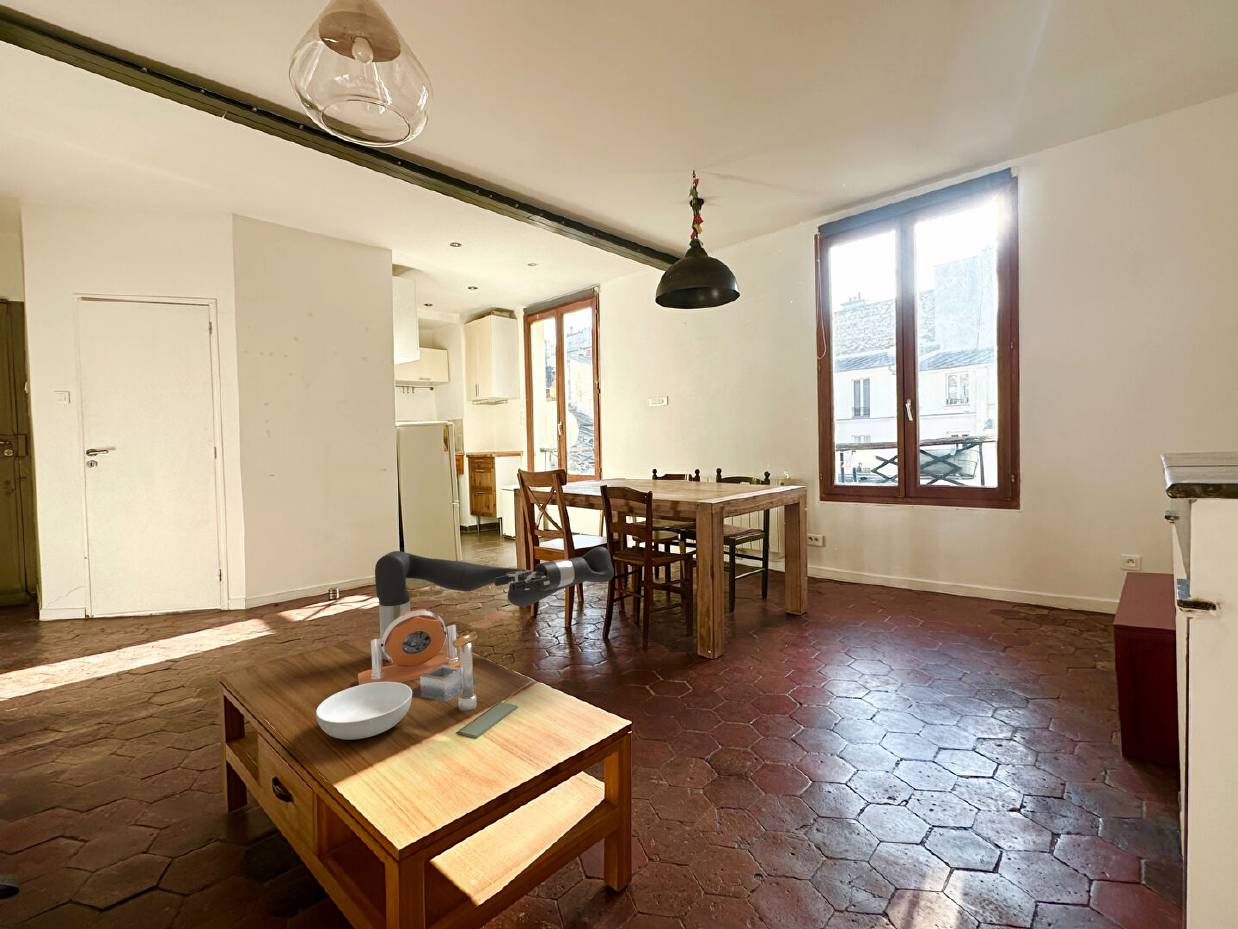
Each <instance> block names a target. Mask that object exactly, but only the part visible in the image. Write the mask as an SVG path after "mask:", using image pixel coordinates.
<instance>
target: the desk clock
mask: <svg viewBox="0 0 1238 929" xmlns="http://www.w3.org/2000/svg"><path fill="white" fill-rule="evenodd" d="M442 625H443V627H442ZM456 639H457V625H456V624H451V625H448V626H446V625H445V622H444V620H443V619H442V617H441V616H440V615H438V614H437V613H436V612H432V611H431V610H429V611H428V610H427V609H425V608H421V609H417V610H410V611H409V612H403V613H401V614H400V615H399V617H398V618H397V619H396V620H394V621H393V622H392V623H391V624H390V625H389V626H388V627H387V629H386V631H385V633H384V635H383V638H382V644H381V638H373V639H371V641H370V648H371V650H370V652H371V654H370V655H371V669H368V670H364V671H361V672H359V673H358V674H357V682H358V686H359V685H363V684H368V683H375V682H397V683H402V684H403V683H406V682H410V681H414V680H415V681H416V680H418V679H419V680H420V676H421V675H423V674H425V673H427V672H429V671H431V670H433V669H435V668H437V667H439V666H440V665H446V666H452V667H458V668H460V651H458V650H457V649H458V648H455V647H454V646H453V641H454V640H456ZM445 644H446V649H447V650H446V652H447V653H444V654H440V652H441V651H442V650H443V648H444V646H445ZM384 646H385V649H386V651H387V652H388V653H389V655H390V656H388V655H387V653H386V652H385V650H384ZM382 649H383V652H384V654H385V657H386V658H387V659H388V660H387V661H388V662H389V663H391V665H386V666H383V659H382ZM439 654H440V655H439Z"/></svg>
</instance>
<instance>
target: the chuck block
mask: <svg viewBox="0 0 1238 929" xmlns="http://www.w3.org/2000/svg"><path fill="white" fill-rule="evenodd" d="M419 681H420V685H418V686H416V687H414V688H412V689H411V690H412V696H415V697H420V698H423V699H430V700H433V701H438V702H442V703H447V702H448V701H450V700H452V699H454V698H455V697H457V696H459V695H461V678H460V668H458V667H452V666H446V665H440V666H439V667H437V668H435V669H433V670H431V671H429V672H427V673H425V674H423V675H421V676H420V679H419ZM479 682H481V680H478V679H474V678H473V686H474V685H476V684H478V683H479Z"/></svg>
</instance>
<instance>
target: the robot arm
mask: <svg viewBox="0 0 1238 929" xmlns="http://www.w3.org/2000/svg"><path fill="white" fill-rule="evenodd" d="M614 574H615V573H614V567H613V563H612V559H611V556H610V552H609V550H608V548H606V547H604V546H597V547H593V548H592V549H590V550H588V552H586V553H585V554H584V555H582V556H578V557H577V556H576V557H572V558H567V559H556V560H550V561H546V562H540V563H538V564H536V565H535V567H534V570H530V569H525V568H518V567H513V568H512V567H499V566H489V565H482V564H476V563H471V562H464V561H459V560H450V559H440V558H429V557H425V556H421V555H416V554H412V553H410V552H406V551H401V550H400V551H399V550H394V551H391V552H388V553H386V554H384V555H383V556H381V557H380V558H379V559H378V560H377V561H376V564H375V568H374V581H375V591H376V592H375V593H376V597H377V598H378V609H379V630H380V631H379V632H380V633H379V634H380V635H379V636H380V639H381V644H382V638H383V635H384V633H385V631H386V629H387V627H388V626H389V625H390V624H391V623H392V622H393V621H394V620H396V619H397V618H398V617H399V615H400V614H401V613H403V612H409V611H411V596H410V595H411V594H410V592H409V591H408V590H407V585H406V583H407V582H406V580H407V579H413V580H414V579H415V580H423V581H427V582H430V583H432V584H434V585H436V586H438V587H441V588H443V589H448V590H451V591H456V592H457V591H458V592H459V591H460V592H472V591H476V590H477V589H480V588H483V587H486V586H488V585H491V584H494V586H496V587H498V586H504V585H509V588H508V591H507V600H508V602H509V603H510V604H512V605H514V606H516V607H522V608H523V607H524V608H525V607H529V606H532V605H534V604H536V603H538V602H540V601H542V600H544V599H546V598H547V597H549V596H551V595H553V594H555V593H556V592H558V591H561V590H564V589H566V588H569V587H572V586H576V585H580V584H582V583H585V582H589V583H590V582H591V583H597V584H598V583H600V584H603V583H604V584H605V583H607V582H609V581H611V580H612V579H613V578H614ZM384 650H385V652H386V653H387V655H388V656H390V655H389V653H388V652H387V651H386V649H385V646H384ZM382 660H385V661H388V659H387V658H386V657H385V654H384V652H383V649H382Z"/></svg>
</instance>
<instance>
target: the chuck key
mask: <svg viewBox="0 0 1238 929" xmlns="http://www.w3.org/2000/svg"><path fill="white" fill-rule="evenodd" d="M477 638H478V633H477V632H476V631H475V630H474V631H471V632H468V633H466V634H464V635H462V636H461V637H458V638H456V640H454V641H453V646H454V647H455V648H457V649H458V648H459V650H458V651H459V652H460V678H461V693H460V694H459V695H458V698H457V700H458V703H457V704H458V710H460V711H461V712H462V711H463V712H466V711H467V712H468V711H472V710H474V709H476V708H477V705H478V704H477V701H478V700H477V694H476V693H475V692H474V685H473V679H474V678H473V676H474V674H473V673H474V672H473V648H472V647H473V644H472V641H474V640H476V639H477Z"/></svg>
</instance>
